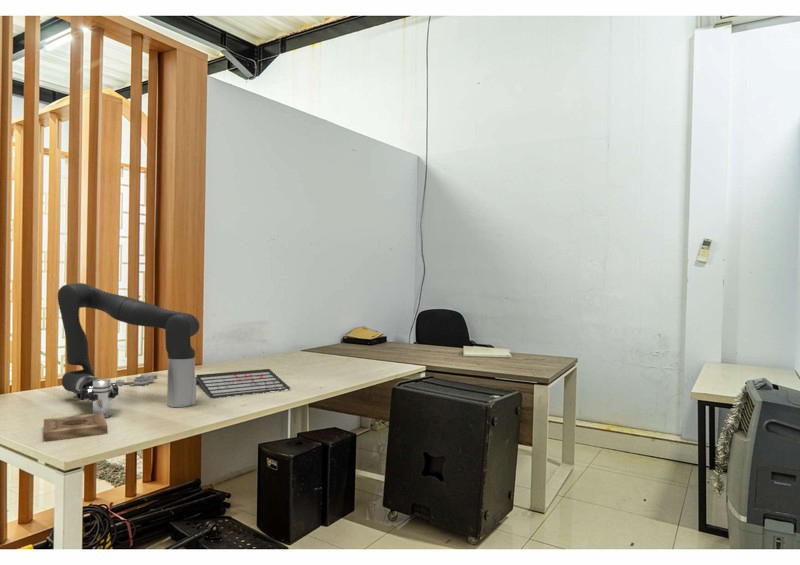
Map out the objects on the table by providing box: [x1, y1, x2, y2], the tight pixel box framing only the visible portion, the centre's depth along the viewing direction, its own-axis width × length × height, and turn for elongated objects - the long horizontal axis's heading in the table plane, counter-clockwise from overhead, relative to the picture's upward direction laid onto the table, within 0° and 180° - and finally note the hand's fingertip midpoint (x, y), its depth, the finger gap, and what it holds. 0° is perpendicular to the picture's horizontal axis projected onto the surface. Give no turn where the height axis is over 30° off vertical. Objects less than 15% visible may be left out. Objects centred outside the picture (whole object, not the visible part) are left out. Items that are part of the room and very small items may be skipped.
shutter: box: [195, 368, 291, 399], centre depth 230 cm, size 32×7×31 cm
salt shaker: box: [92, 378, 112, 419], centre depth 180 cm, size 5×5×12 cm
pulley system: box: [111, 373, 158, 387], centre depth 231 cm, size 27×5×15 cm
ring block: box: [43, 413, 108, 442], centre depth 165 cm, size 16×16×2 cm
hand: (104, 396), depth 178 cm, fingers closed on salt shaker, 5 cm apart
